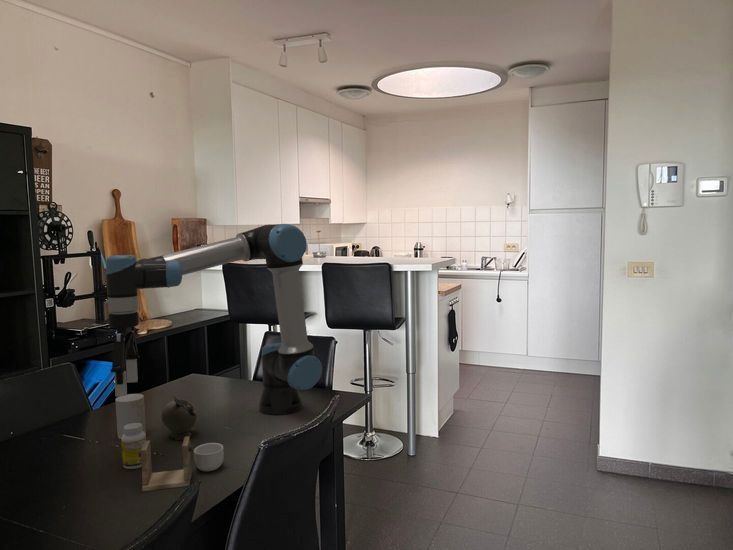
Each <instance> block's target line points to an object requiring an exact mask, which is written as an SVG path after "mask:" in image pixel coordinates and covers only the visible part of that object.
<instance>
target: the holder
mask: <svg viewBox="0 0 733 550" xmlns="http://www.w3.org/2000/svg"><path fill="white" fill-rule="evenodd" d="M190 438H191V437H190V436H188V437H185V438H184V439H183V442H182V446H181V448H182V466H183V468H182V469H174V470H167V471H166V470H165V471H159V472H158V471H157V472H153V471H152V469H153V468H152V453H151V451H152V450H151V440H146V441H145V442H144V444H143V446H142V449H141V450H139V457H141V463H142V467H141V476H142V487H141V492H148V491H156V490H158V491H159V490H163V489H164V490H165V489H172V488H181V487H182V488H183V487H189V486H190V484H191V479H192V473H193V468H192V461H191V459H192V456H191V452H194V445H193V444H191V442H190V441H191V440H190Z"/></svg>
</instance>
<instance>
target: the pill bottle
mask: <svg viewBox="0 0 733 550" xmlns="http://www.w3.org/2000/svg"><path fill="white" fill-rule="evenodd" d="M124 433H125V434H123V436H122V437H121V454H122V455H121V456H122V457H121V459H122V467H123V468H124V469H127V470H134V469H136V470H137V469H140V468H142V463H141V457H139V450H141V449H142V446H143V444H144V442H145V441H147V436H146V434H147V433H146V434H145V433H144V432H143V431H142V424H141V423H131V424H127V425H125V426H124Z"/></svg>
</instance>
